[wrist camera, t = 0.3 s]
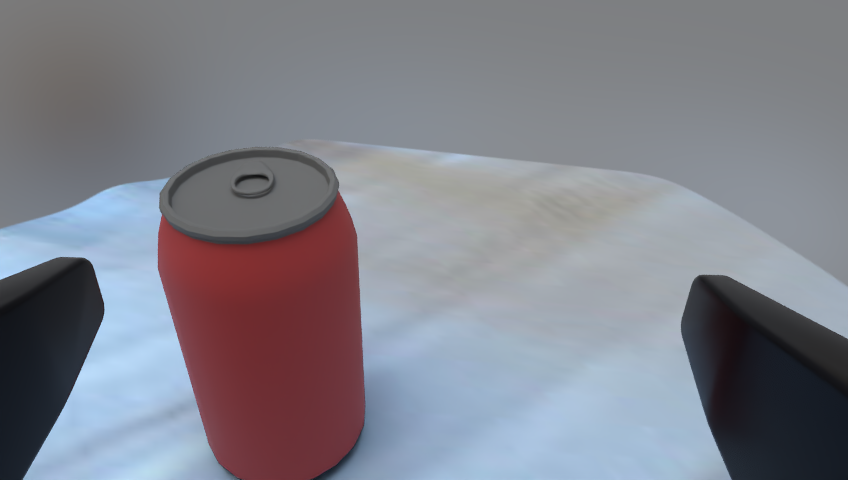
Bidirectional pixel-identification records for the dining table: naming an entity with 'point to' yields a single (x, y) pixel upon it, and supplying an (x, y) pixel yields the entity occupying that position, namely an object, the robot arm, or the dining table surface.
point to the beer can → (266, 308)
